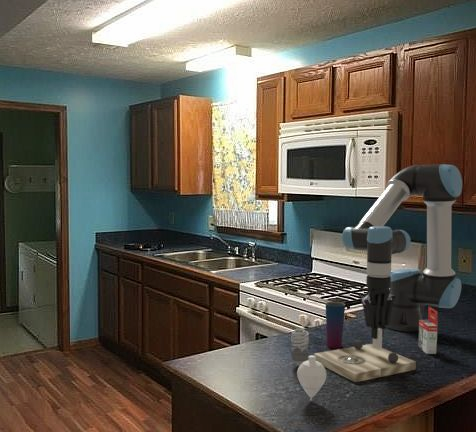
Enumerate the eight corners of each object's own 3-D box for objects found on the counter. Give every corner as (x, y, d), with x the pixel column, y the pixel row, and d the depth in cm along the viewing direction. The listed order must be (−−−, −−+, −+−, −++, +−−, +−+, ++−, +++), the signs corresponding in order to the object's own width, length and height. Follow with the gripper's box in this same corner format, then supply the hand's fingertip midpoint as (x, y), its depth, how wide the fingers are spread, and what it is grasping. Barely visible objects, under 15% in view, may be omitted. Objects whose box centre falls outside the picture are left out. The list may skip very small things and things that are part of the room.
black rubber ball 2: (393, 360, 166) (393, 350, 166) (400, 363, 164) (400, 353, 163) (385, 361, 165) (386, 352, 165) (392, 364, 162) (393, 355, 162)
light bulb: (287, 364, 168) (287, 327, 167) (302, 362, 170) (303, 325, 170) (296, 370, 163) (296, 332, 162) (311, 368, 165) (312, 330, 165)
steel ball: (351, 356, 168) (343, 356, 166) (358, 359, 165) (350, 359, 164) (350, 366, 168) (342, 366, 167) (357, 369, 165) (349, 370, 164)
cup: (344, 349, 184) (345, 306, 183) (324, 348, 185) (325, 305, 184) (344, 343, 191) (345, 302, 190) (324, 342, 192) (325, 301, 191)
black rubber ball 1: (358, 347, 179) (358, 338, 179) (364, 349, 176) (364, 340, 176) (351, 348, 178) (351, 339, 177) (357, 350, 175) (357, 342, 175)
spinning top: (293, 403, 139) (294, 358, 138) (300, 393, 146) (301, 350, 145) (322, 408, 136) (323, 362, 135) (328, 397, 143) (329, 353, 142)
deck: (371, 350, 183) (371, 343, 183) (415, 369, 165) (415, 361, 165) (313, 361, 172) (314, 353, 172) (354, 382, 154) (355, 373, 154)
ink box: (426, 354, 180) (427, 311, 179) (417, 346, 188) (418, 306, 187) (436, 354, 180) (438, 311, 180) (427, 346, 188) (429, 306, 187)
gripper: (385, 271, 175) (384, 341, 177) (354, 275, 169) (353, 347, 171) (402, 275, 169) (400, 348, 171) (371, 279, 163) (369, 354, 165)
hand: (377, 347), depth 171 cm, fingers closed
